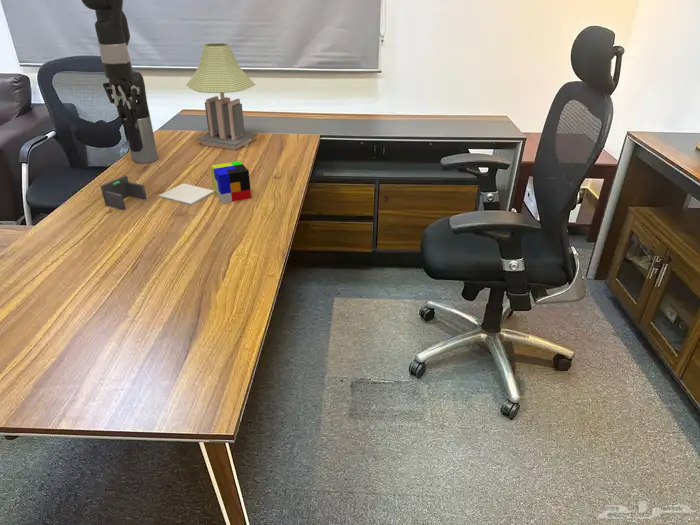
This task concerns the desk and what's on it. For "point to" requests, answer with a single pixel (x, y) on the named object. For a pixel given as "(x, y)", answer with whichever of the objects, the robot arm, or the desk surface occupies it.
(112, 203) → the dock
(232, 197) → the puzzle toy
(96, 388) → the desk surface
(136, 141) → the two-way radio
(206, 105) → the desk lamp
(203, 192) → the mat
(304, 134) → the desk surface
